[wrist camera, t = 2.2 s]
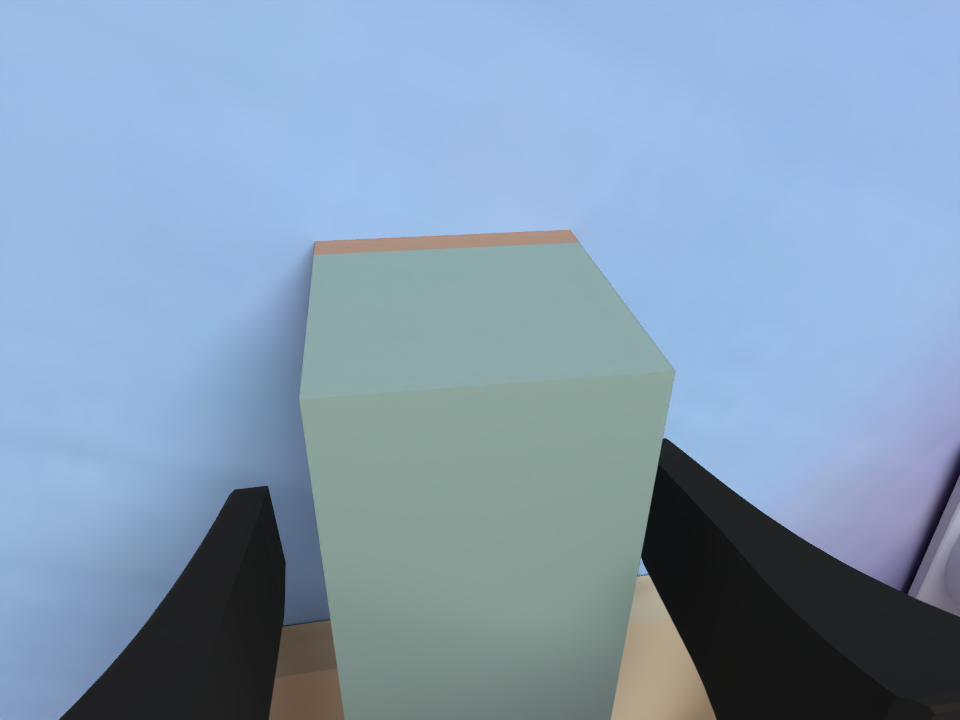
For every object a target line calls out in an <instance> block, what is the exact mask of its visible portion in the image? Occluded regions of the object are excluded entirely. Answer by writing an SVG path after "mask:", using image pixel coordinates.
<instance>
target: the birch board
mask: <svg viewBox="0 0 960 720" xmlns="http://www.w3.org/2000/svg"><path fill="white" fill-rule="evenodd" d="M269 720H345V718H344V711H343V704H342V697H341V690H340V683H339V676H338V669H337V662H336V655H335V648H334V641H333V634H332V627H331V620H327V621H320V622H313V623H306V624H298V625H291V626H284V627H282V633H281V640H280V647H279V654H278V661H277V668H276V674H275V681H274V688H273V695H272V701H271V708H270V715H269ZM611 720H717V719H716V717H715V714H714V711H713V709H712V706H711V704H710V701H709V698H708V696H707V693H706V691H705V688H704V686H703V683H702V681H701V678H700V676H699V674H698V672H697V670H696V667H695V665H694V663H693V661H692V659H691V657H690V655H689V653H688V651H687V649H686V647H685V645H684V643H683V641H682V639H681V637H680V635H679V633H678V631H677V629H676V627H675V625H674V623H673V621H672V619H671V617H670V615H669V613H668V611H667V610H666V608H665V606H664V604H663V602H662V600H661V598H660V596H659V594H658V592H657V590H656V588H655V586H654V584H653V582H652V580H651V578H650V576H649V575H646V576H638V577H637V580H636V586H635V591H634V596H633V602H632V607H631V613H630V618H629V623H628V629H627V634H626V640H625V645H624V650H623V656H622V661H621V667H620V672H619V677H618V683H617V688H616V694H615V699H614V704H613V710H612V715H611Z"/></svg>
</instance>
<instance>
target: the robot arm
mask: <svg viewBox="0 0 960 720" xmlns="http://www.w3.org/2000/svg"><path fill="white" fill-rule="evenodd" d="M641 558H642V561H643V563H644V565H645V567H646V569H647V572H648V574H649V576H650V578H651V580H652V582H653V584H654V586H655V588H656V590H657V592H658V594H659V596H660V598H661V600H662V602H663V604H664V606H665V608H666V610H667V611H668V613H669V615H670V617H671V619H672V621H673V623H674V625H675V627H676V629H677V631H678V633H679V635H680V637H681V639H682V641H683V643H684V645H685V647H686V649H687V651H688V653H689V655H690V657H691V659H692V661H693V663H694V665H695V667H696V670H697V672H698V674H699V676H700V678H701V681H702V683H703V686H704V688H705V691H706V693H707V696H708V698H709V701H710V704H711V706H712V709H713V711H714V714H715V717H716V719H717V720H960V476H959V478H958V480H957V483H956V485H955V487H954V490H953V492H952V494H951V496H950V499H949V501H948V503H947V506H946V508H945V510H944V512H943V515H942V517H941V519H940V522H939V524H938V526H937V528H936V531H935V533H934V535H933V538H932V540H931V542H930V544H929V547H928V549H927V551H926V554H925V556H924V558H923V560H922V563H921V565H920V567H919V570H918V572H917V574H916V576H915V579H914V581H913V583H912V585H911V588H910V590H909V592H908V595H907V594H905V593H903V592H900V591H898V590H896V589H894V588H892V587H890V586H888V585H886V584H884V583H882V582H880V581H878V580H876V579H874V578H872V577H870V576H868V575H866V574H864V573H862V572H860V571H858V570H856V569H854V568H852V567H850V566H849V565H847V564H845V563H843V562H841V561H839V560H838V559H836V558H834V557H833V556H831V555H829V554H827V553H826V552H824V551H822V550H820V549H819V548H817V547H815V546H813V545H812V544H810V543H808V542H807V541H805V540H804V539H802V538H800V537H799V536H797V535H796V534H794V533H793V532H791V531H790V530H788V529H787V528H785V527H784V526H782V525H781V524H779V523H778V522H776V521H775V520H773V519H772V518H770V517H769V516H767V515H766V514H764V513H763V512H762V511H760V510H759V509H757V508H756V507H754V506H753V505H752V504H750V503H749V502H748V501H746V500H745V499H743V498H742V497H741V496H739V495H738V494H737V493H735V492H734V491H733V490H731V489H730V488H729V487H728V486H726V485H725V484H724V483H722V482H721V481H720V480H718V479H717V478H716V477H715V476H713V475H712V474H711V473H710V472H708V471H707V470H706V469H705V468H703V467H702V466H701V465H699V464H698V463H697V462H696V461H694V460H693V459H692V458H691V457H689V456H688V455H687V454H686V453H684V452H683V451H682V450H681V449H679V448H678V447H677V446H676V445H674V444H673V443H672V442H670V441H669V440H668V439H666V438H664V439H663V440H662V445H661V451H660V456H659V461H658V467H657V472H656V478H655V483H654V488H653V494H652V499H651V505H650V510H649V515H648V521H647V526H646V532H645V537H644V542H643V548H642V553H641ZM285 564H286V563H285V559H284V554H283V550H282V546H281V541H280V537H279V532H278V528H277V524H276V519H275V515H274V510H273V506H272V502H271V497H270V493H269V488H268V486H262V487H254V488H246V489H237V490H234V491H233V492H232V493H231V494H230V495H229V497H228V499H227V500H226V502H225V504H224V506H223V508H222V509H221V511H220V513H219V515H218V516H217V518H216V520H215V522H214V523H213V525H212V527H211V528H210V530H209V532H208V533H207V535H206V537H205V538H204V540H203V542H202V543H201V545H200V546H199V548H198V550H197V551H196V553H195V554H194V556H193V557H192V559H191V560H190V562H189V563H188V565H187V566H186V568H185V569H184V571H183V572H182V574H181V576H180V577H179V578H178V580H177V581H176V583H175V584H174V586H173V587H172V588H171V590H170V591H169V593H168V594H167V595H166V597H165V598H164V599H163V601H162V602H161V603H160V605H159V606H158V608H157V609H156V610H155V612H154V613H153V614H152V616H151V617H150V618H149V620H148V621H147V622H146V624H145V625H144V626H143V627H142V629H141V630H140V631H139V632H138V634H137V635H136V636H135V637H134V639H133V640H132V641H131V642H130V643H129V645H128V646H127V647H126V648H125V649H124V651H123V652H122V653H121V654H120V655H119V656H118V658H117V659H116V660H115V661H114V662H113V663H112V665H111V666H110V667H109V668H108V669H107V670H106V671H105V672H104V673H103V674H102V676H101V677H100V678H99V679H98V680H97V681H96V682H95V683H94V684H93V685H92V686H91V687H90V688H89V689H88V691H87V692H86V693H85V694H84V695H83V696H82V697H81V698H80V699H79V700H78V701H77V702H76V703H75V704H74V705H73V706H72V707H71V708H70V709H69V710H68V711H67V712H66V713H65V714H64V715H63V716H62V717H61V718H60V719H59V720H269V715H270V708H271V701H272V695H273V688H274V681H275V674H276V668H277V661H278V654H279V647H280V640H281V633H282V626H283V619H284V604H285Z"/></svg>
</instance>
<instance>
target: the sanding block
mask: <svg viewBox="0 0 960 720" xmlns="http://www.w3.org/2000/svg"><path fill="white" fill-rule="evenodd" d="M674 375H675V370H674V368H673V367H672V366H671V364H670V363H669V362H668V360H667V359H666V358H665V356H664V355H663V354H662V352H661V351H660V350H659V348H658V347H657V346H656V344H655V343H654V342H653V340H652V339H651V337H650V336H649V335H648V333H647V332H646V331H645V329H644V328H643V327H642V325H641V324H640V323H639V321H638V320H637V319H636V317H635V316H634V315H633V313H632V312H631V311H630V309H629V308H628V307H627V305H626V304H625V303H624V301H623V300H622V299H621V297H620V296H619V295H618V293H617V292H616V291H615V289H614V288H613V287H612V285H611V284H610V283H609V281H608V280H607V279H606V277H605V276H604V275H603V273H602V272H601V271H600V269H599V268H598V267H597V265H596V264H595V262H594V261H593V260H592V258H591V257H590V256H589V254H588V253H587V252H586V250H585V249H584V248H583V246H582V245H581V244H580V242H579V241H578V240H577V238H576V237H575V236H574V234H573V233H572V232H571V230H557V231H534V232H512V233H490V234H468V235H445V236H423V237H401V238H379V239H356V240H334V241H315V248H314V258H313V267H312V277H311V287H310V297H309V307H308V317H307V327H306V336H305V346H304V356H303V366H302V376H301V386H300V395H299V402H300V409H301V416H302V423H303V430H304V437H305V444H306V451H307V458H308V465H309V472H310V479H311V486H312V493H313V500H314V507H315V514H316V521H317V528H318V535H319V542H320V549H321V557H322V564H323V571H324V578H325V585H326V592H327V599H328V606H329V613H330V620H331V627H332V634H333V641H334V648H335V655H336V662H337V669H338V676H339V683H340V690H341V697H342V704H343V711H344V718H345V720H611V715H612V710H613V704H614V699H615V694H616V688H617V683H618V677H619V672H620V667H621V661H622V656H623V650H624V645H625V640H626V634H627V629H628V623H629V618H630V613H631V607H632V602H633V596H634V591H635V586H636V580H637V575H638V569H639V564H640V559H641V553H642V548H643V542H644V537H645V532H646V526H647V521H648V515H649V510H650V505H651V499H652V494H653V488H654V483H655V478H656V472H657V467H658V461H659V456H660V451H661V445H662V440H663V434H664V429H665V424H666V418H667V413H668V407H669V402H670V397H671V391H672V386H673V380H674Z"/></svg>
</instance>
